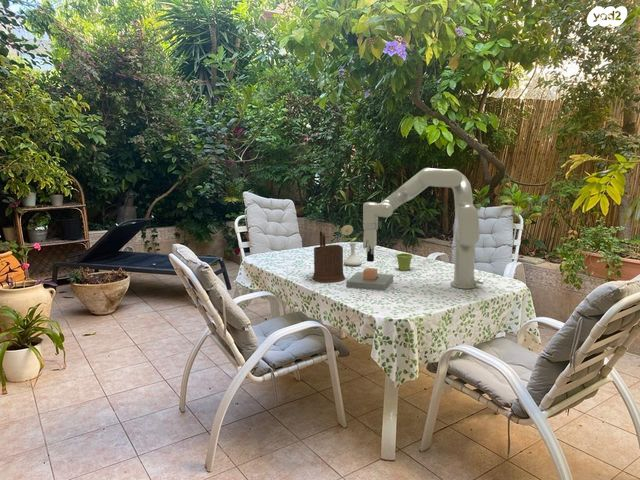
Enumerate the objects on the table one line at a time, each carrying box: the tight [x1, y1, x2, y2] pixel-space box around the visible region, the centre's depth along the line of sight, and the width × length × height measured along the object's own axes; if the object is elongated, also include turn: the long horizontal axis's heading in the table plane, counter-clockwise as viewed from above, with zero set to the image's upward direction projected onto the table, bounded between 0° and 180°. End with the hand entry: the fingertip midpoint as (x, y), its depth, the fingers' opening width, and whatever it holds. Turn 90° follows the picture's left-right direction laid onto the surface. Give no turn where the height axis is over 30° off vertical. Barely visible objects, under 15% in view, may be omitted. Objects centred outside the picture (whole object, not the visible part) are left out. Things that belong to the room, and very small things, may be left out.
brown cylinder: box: [312, 230, 346, 284], centre depth 245 cm, size 18×24×25 cm
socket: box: [345, 271, 394, 291], centre depth 233 cm, size 20×20×3 cm
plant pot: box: [396, 253, 413, 272], centre depth 260 cm, size 9×9×9 cm
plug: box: [362, 267, 378, 280], centre depth 232 cm, size 6×6×7 cm
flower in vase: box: [340, 224, 363, 267], centre depth 273 cm, size 13×11×25 cm
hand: (370, 261), depth 231 cm, fingers closed
